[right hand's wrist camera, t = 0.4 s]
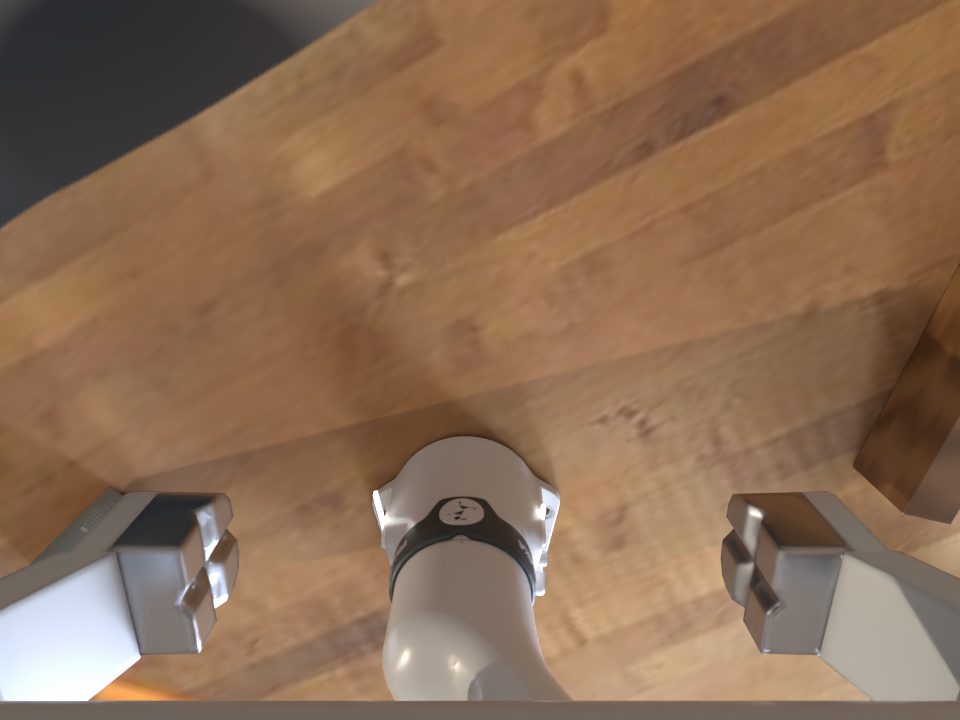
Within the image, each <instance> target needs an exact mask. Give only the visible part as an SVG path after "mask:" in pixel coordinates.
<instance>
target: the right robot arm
mask: <svg viewBox="0 0 960 720" xmlns="http://www.w3.org/2000/svg"><path fill="white" fill-rule="evenodd" d="M559 504H560V496H559V493H558V491H557V490H556V489H555V488H553V487H552V486H551V485H549V484H547V483H546V482H544V481H542V480H540V479H538V478H537V477H536V476H535V475H534V474H533V473H532V472H531V470H530V469H529V468H528V466H527V465H526V464H525V462H524V461H523V460H522V459H521V458H520V457H519V456H518V455H517V454H515V453H514V452H513V451H512V450H510V449H509V448H507V447H505V446H503V445H501V444H499V443H497V442H495V441H492V440H489V439H485V438H480V437H472V436H458V437H451V438H446V439H442V440H439V441H436V442H434V443H432V444H429V445H428V446H426V447H424V448H422V449H421V450H419V451H418V452H417V453H416V454H414V455H413V456H412V457H411V458H410V459H409V460H408V462H407V463H406V464H405V466H404V467H403V468H402V470H401V471H400V473H399V474H398V476H397V477H396V478H395V479H394V480H392V481H391V482H389V483H387V484H386V485H384V486H382V487H381V488H380V489H378V490H377V491H374V493H373V499H372V507H373V510H374V513H375V516H376V519H377V522H378V526H379V529H380V532H381V535H382V538H381V546H382V548H384V549H386V554H387V557H388V560H389V563H390V565H391V571H390V580H389V583H390V589H389V595H390V600H391V609H390V614H389V620H388V625H387V630H386V636H385V641H384V647H383V653H382V665H383V673H384V676H385V680H386V683H387V686H388V688H389V690H390V692H391V694H392V696H393V697H394V699H395V701H88V700H89V699H90V698H91V697H93V696H94V695H95V694H96V693H98V692H99V691H100V690H101V689H103V688H104V687H105V686H106V685H108V684H109V683H110V682H111V681H113V680H114V679H115V678H116V677H118V676H119V675H120V674H122V673H123V672H124V671H125V670H127V669H128V668H129V667H130V666H132V665H133V664H134V663H135V662H137V661H138V660H139V659H140V658H141V656H140V655H164V654H199V652H200V650H201V649H202V647H203V645H204V643H205V641H206V639H207V638H208V636H209V634H210V632H211V630H212V628H213V626H214V625H215V623H216V621H217V619H216V613H215V608H216V607H217V606H219V605H220V604H222V603H223V602H225V601H226V600H228V598H229V596H230V594H231V592H232V590H233V588H234V586H235V582H236V578H237V574H238V569H239V549H238V542H237V539H236V538H235V537H234V536H233V535H232V534H231V533H230V532H229V531H228V530H227V529H226V528H227V526H228V525H229V523H230V521H231V520H232V518H233V512H232V506H231V501H230V498H229V497H228V496H227V495H226V494H225V493H202V492H161V491H150V492H131V493H126V494H125V495H124V496H123V497H122V498H121V499H120V500H119V501H118V502H117V503H116V504H115V505H114V506H113V507H112V508H111V509H110V510H109V512H108V513H107V514H106V515H105V516H104V517H103V518H102V519H101V520H100V521H99V522H98V523H97V524H96V525H95V526H94V527H93V528H92V529H91V530H90V531H89V532H88V533H87V534H86V535H85V536H84V537H83V538H82V539H81V540H80V541H79V542H78V543H77V544H76V545H75V546H74V547H73V548H72V550H71V551H70V552H57V553H55V554H53V555H51V556H49V557H46V558H44V559H42V560H40V561H38V562H35V563H33V564H31V565H29V566H27V567H24V568H22V569H20V570H18V571H16V572H14V573H11V574H9V575H7V576H5V577H3V578H0V720H960V579H959V578H957V577H955V576H953V575H951V574H949V573H946V572H944V571H942V570H940V569H938V568H935V567H933V566H931V565H929V564H927V563H925V562H922V561H920V560H918V559H916V558H914V557H911V556H909V555H907V554H905V553H903V552H890V550H889V549H888V548H887V547H886V546H885V545H884V544H883V543H882V542H881V541H880V540H879V539H878V538H877V537H876V536H875V535H874V534H873V533H872V532H871V531H870V530H869V529H868V528H867V527H866V526H865V525H864V524H863V523H862V522H861V521H860V520H859V519H858V518H857V517H856V515H855V514H854V513H853V512H852V511H851V510H850V509H849V508H848V507H847V506H846V505H845V504H844V503H843V502H842V501H841V500H840V499H839V498H838V497H837V496H836V495H835V494H833V493H830V492H828V491H815V492H791V493H752V494H733V495H732V497H731V499H730V502H729V505H728V511H727V518H728V520H729V521H730V523H731V524H732V526H733V528H734V529H733V530H732V531H731V532H730V533H729V534H728V535H727V536H726V537H725V538H724V539H723V543H722V551H721V566H722V576H723V579H724V582H725V586H726V588H727V590H728V592H729V594H730V596H731V598H732V600H734V601H735V602H737V603H738V604H740V605H741V606H743V607H744V608H745V613H744V619H743V621H744V623H745V625H746V626H747V628H748V630H749V632H750V634H751V636H752V637H753V639H754V641H755V643H756V645H757V647H758V649H759V650H760V652H761V654H795V655H820V656H819V658H820V659H821V660H822V661H824V662H825V663H826V664H827V665H829V666H830V667H831V668H832V669H834V670H835V671H836V672H838V673H839V674H840V675H841V676H843V677H844V678H845V679H846V680H848V681H849V682H850V683H851V684H853V685H854V686H855V687H856V688H858V689H859V690H860V691H861V692H863V693H864V694H865V695H866V696H868V697H869V698H870V699H871V700H873V701H574V700H573V699H572V698H571V697H570V696H569V695H568V693H567V692H566V691H565V690H564V689H563V688H562V686H561V685H560V684H559V683H558V681H557V680H556V679H555V677H554V676H553V674H552V673H551V671H550V670H549V668H548V666H547V664H546V662H545V660H544V658H543V655H542V652H541V649H540V645H539V641H538V636H537V631H536V626H535V621H534V615H533V605H534V601H535V595H538V596H542V595H544V592H545V586H546V574H545V572H543V571H542V568H543V566H546V565H547V560H548V553H547V549H548V546H549V542H550V538H551V534H552V531H553V527H554V523H555V519H556V516H557V512H558V508H559ZM546 508H548V510H547V511H546ZM384 510H386V512H385V511H384Z"/></svg>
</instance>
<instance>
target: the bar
mask: <svg viewBox="0 0 960 720" xmlns="http://www.w3.org/2000/svg"><path fill="white" fill-rule="evenodd" d="M853 467H854V468H855V469H856V470H857V471H858V472H859V473H860V474H861V475H862V476H863V477H864V478H865V479H867V480H868V481H869V482H870V483H871V484H872V485H873V486H874V487H875V488H876V489H877V490H878V491H879V492H880V493H882V494H883V495H884V496H885V497H886V498H887V499H888V500H889V501H890V502H891V503H892V504H893V505H894V506H895V507H897V508H898V509H899V510H900V511H901V512H902V513H903V514H907V515H911V516H915V517H920V518H924V519H929V520H933V521H937V522H942V523H946V524H951V522H952V521H953V519H954V518H955V516H956V514H957V513H958V511H959V509H960V264H959V266H958V268H957V270H956V272H955V274H954V276H953V277H952V279H951V281H950V283H949V285H948V287H947V289H946V291H945V293H944V294H943V296H942V298H941V300H940V302H939V304H938V306H937V308H936V310H935V312H934V313H933V315H932V317H931V319H930V321H929V323H928V325H927V327H926V329H925V330H924V332H923V334H922V336H921V338H920V340H919V342H918V344H917V346H916V348H915V349H914V351H913V353H912V355H911V357H910V359H909V361H908V363H907V365H906V366H905V368H904V370H903V372H902V374H901V376H900V378H899V380H898V382H897V384H896V385H895V387H894V389H893V391H892V393H891V395H890V397H889V399H888V401H887V402H886V404H885V406H884V408H883V410H882V412H881V414H880V416H879V418H878V420H877V421H876V423H875V425H874V427H873V429H872V431H871V433H870V435H869V437H868V438H867V440H866V442H865V444H864V446H863V448H862V450H861V452H860V454H859V456H858V457H857V459H856V461H855V463H854V465H853Z"/></svg>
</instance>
